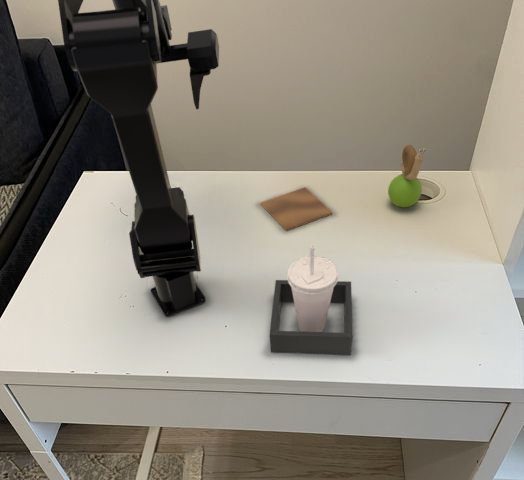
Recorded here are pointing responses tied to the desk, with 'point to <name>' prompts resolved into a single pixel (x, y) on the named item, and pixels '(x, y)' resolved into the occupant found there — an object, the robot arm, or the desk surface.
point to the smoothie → (312, 290)
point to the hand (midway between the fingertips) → (168, 111)
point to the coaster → (296, 208)
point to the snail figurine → (407, 179)
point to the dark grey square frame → (311, 340)
